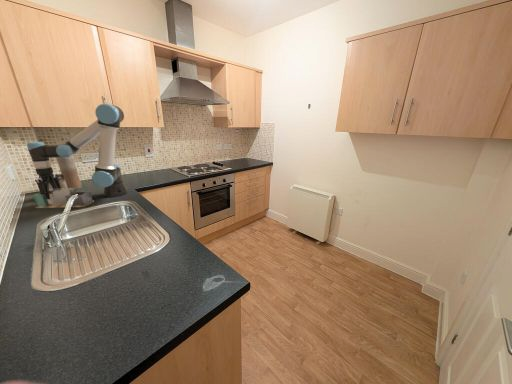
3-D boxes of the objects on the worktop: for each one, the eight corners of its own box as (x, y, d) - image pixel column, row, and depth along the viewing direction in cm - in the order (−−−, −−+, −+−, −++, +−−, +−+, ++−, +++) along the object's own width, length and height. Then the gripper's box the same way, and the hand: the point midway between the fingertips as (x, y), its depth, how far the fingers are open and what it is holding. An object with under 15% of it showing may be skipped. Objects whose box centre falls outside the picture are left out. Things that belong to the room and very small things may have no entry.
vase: (80, 185, 174) (71, 153, 165) (83, 188, 168) (73, 155, 159) (65, 188, 167) (54, 155, 158) (67, 190, 161) (56, 156, 152)
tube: (79, 201, 137) (75, 187, 134) (73, 204, 132) (69, 190, 129) (52, 202, 136) (47, 188, 133) (45, 205, 131) (40, 190, 128)
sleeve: (92, 201, 139) (90, 191, 137) (84, 205, 131) (81, 195, 129) (77, 201, 138) (74, 191, 136) (68, 205, 131) (65, 195, 128)
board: (94, 201, 140) (94, 200, 140) (84, 206, 131) (84, 206, 130) (49, 202, 138) (49, 201, 138) (35, 208, 129) (34, 207, 128)
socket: (56, 201, 138) (52, 190, 135) (45, 206, 130) (40, 194, 127) (48, 201, 137) (44, 190, 135) (36, 206, 129) (32, 195, 127)
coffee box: (56, 198, 144) (49, 177, 139) (49, 198, 146) (42, 176, 140) (70, 194, 153) (63, 174, 148) (63, 194, 154) (56, 173, 149)
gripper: (50, 164, 134) (60, 197, 142) (22, 170, 117) (36, 207, 124) (61, 164, 135) (72, 197, 142) (35, 170, 117) (49, 207, 125)
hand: (55, 201), depth 133 cm, fingers closed on tube, 5 cm apart
